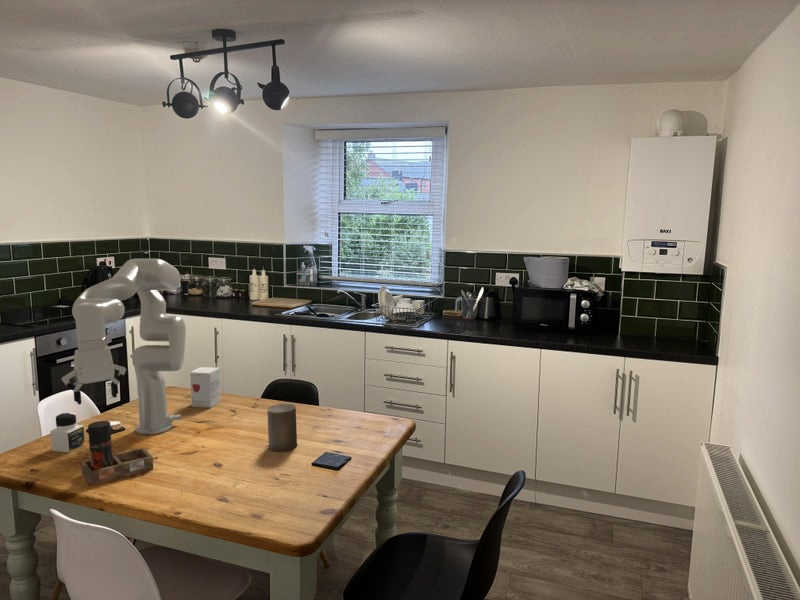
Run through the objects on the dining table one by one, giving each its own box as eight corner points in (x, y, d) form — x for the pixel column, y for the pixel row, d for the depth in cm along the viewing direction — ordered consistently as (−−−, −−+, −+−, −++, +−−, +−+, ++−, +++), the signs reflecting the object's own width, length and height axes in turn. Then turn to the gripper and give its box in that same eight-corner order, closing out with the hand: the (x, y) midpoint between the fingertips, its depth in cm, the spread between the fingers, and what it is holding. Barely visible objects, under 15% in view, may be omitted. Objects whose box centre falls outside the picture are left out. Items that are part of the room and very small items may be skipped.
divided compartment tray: (143, 459, 187) (143, 447, 187) (153, 469, 179) (152, 457, 179) (81, 474, 176) (80, 462, 175) (89, 486, 168) (88, 473, 167)
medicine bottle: (69, 453, 192) (66, 418, 190) (51, 451, 193) (48, 416, 192) (85, 444, 199) (82, 411, 197) (67, 443, 200) (64, 410, 199)
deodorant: (118, 469, 176) (114, 422, 174) (100, 477, 171) (96, 428, 169) (104, 466, 179) (100, 419, 177) (87, 473, 174) (83, 426, 171)
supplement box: (190, 407, 239) (189, 372, 237) (201, 400, 248) (200, 366, 246) (211, 408, 237) (209, 372, 235) (221, 401, 246) (219, 367, 244)
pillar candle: (303, 445, 198) (301, 403, 196) (279, 454, 191) (277, 410, 189) (286, 438, 205) (284, 397, 203) (262, 446, 198) (260, 404, 196)
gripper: (120, 338, 179) (124, 391, 182) (56, 346, 168) (61, 402, 171) (127, 342, 173) (131, 396, 176) (61, 351, 162) (67, 409, 165)
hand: (96, 399), depth 173 cm, fingers open, 9 cm apart
